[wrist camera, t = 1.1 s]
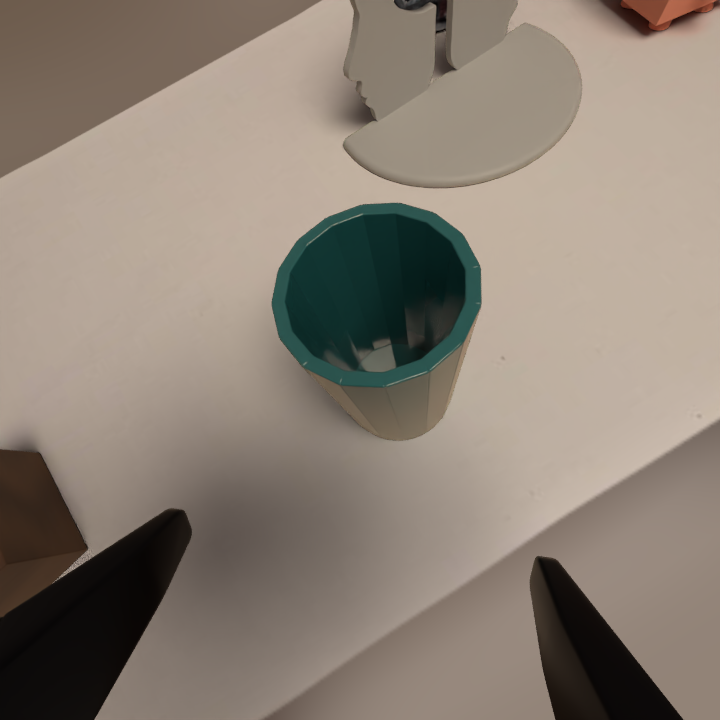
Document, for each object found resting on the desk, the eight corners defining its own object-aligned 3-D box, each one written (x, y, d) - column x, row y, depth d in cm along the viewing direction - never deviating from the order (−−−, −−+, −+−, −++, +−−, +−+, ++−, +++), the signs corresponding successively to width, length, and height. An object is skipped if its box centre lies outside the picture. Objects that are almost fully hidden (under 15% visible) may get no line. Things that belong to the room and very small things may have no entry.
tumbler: (450, 445, 22) (483, 392, 10) (341, 436, 23) (254, 381, 11) (451, 342, 24) (479, 197, 12) (352, 339, 25) (290, 207, 13)
